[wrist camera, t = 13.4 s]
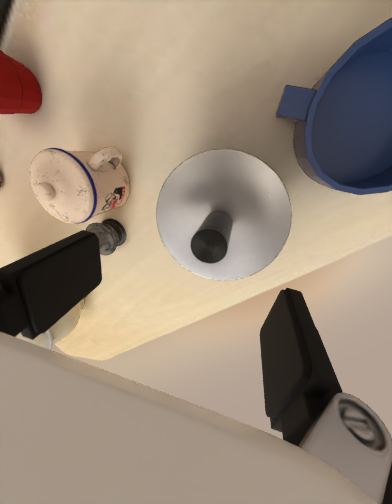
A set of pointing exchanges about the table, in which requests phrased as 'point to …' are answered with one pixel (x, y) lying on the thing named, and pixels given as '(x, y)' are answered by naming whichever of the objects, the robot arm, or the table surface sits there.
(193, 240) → the lid
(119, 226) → the salt shaker
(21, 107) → the plastic cup
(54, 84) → the table surface
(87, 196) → the teacup with lid
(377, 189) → the pan
